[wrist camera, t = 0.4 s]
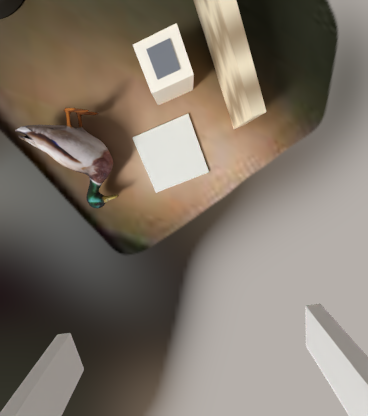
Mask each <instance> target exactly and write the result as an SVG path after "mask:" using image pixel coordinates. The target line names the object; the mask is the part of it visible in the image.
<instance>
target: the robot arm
mask: <svg viewBox="0 0 368 416" xmlns="http://www.w3.org/2000/svg"><path fill="white" fill-rule="evenodd" d="M22 1H23V0H0V19H1V18H4V17H6V16H8V15H10V14H11V13H13V12H14V11H15V10H16V9H17V8H18V7H19V6H20V4H21V3H22ZM306 347H307V349H308V350H309V352H310V354H311V355H312V357H313V358H314V360H315V361H316V363H317V365H318V367H319V368H320V370H321V371H322V373H323V375H324V376H325V378H326V379H327V381H328V383H329V384H330V386H331V388H332V389H333V391H334V392H335V394H336V395H337V397H338V399H339V400H340V402H341V403H342V405H343V407H344V409H345V410H346V412H347V413H348V415H349V416H368V357H367V355H366V354H365V353H364V352H363V351H362V350H361V349H360V348H359V347H358V345H357V344H356V343H355V342H354V341H353V340H352V339H351V338H350V336H349V335H348V334H347V333H346V332H345V331H344V330H343V329H342V327H341V326H340V325H339V324H338V323H337V322H336V321H335V320H334V318H333V317H332V316H331V315H330V314H329V313H328V312H327V311H326V310H325V308H324V307H323V306H322V305H321V304H315V305H307V306H306ZM83 370H84V368H83V365H82V363H81V360H80V357H79V355H78V352H77V349H76V347H75V344H74V342H73V339H72V336H71V334H70V333H66V334H58V335H57V336H56V337H55V339H54V340H53V341H52V343H51V344H50V345H49V347H48V348H47V350H46V351H45V352H44V354H43V355H42V356H41V358H40V359H39V361H38V362H37V363H36V365H35V366H34V367H33V369H32V370H31V371H30V373H29V374H28V375H27V377H26V378H25V380H24V381H23V382H22V384H21V385H20V386H19V388H18V389H17V390H16V392H15V393H14V394H13V396H12V397H11V399H10V400H9V401H8V403H7V404H6V405H5V407H4V408H3V410H2V411H1V412H0V416H61V415H62V413H63V411H64V409H65V407H66V405H67V403H68V401H69V399H70V397H71V395H72V393H73V391H74V389H75V387H76V385H77V383H78V381H79V379H80V377H81V374H82V372H83Z"/></svg>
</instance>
